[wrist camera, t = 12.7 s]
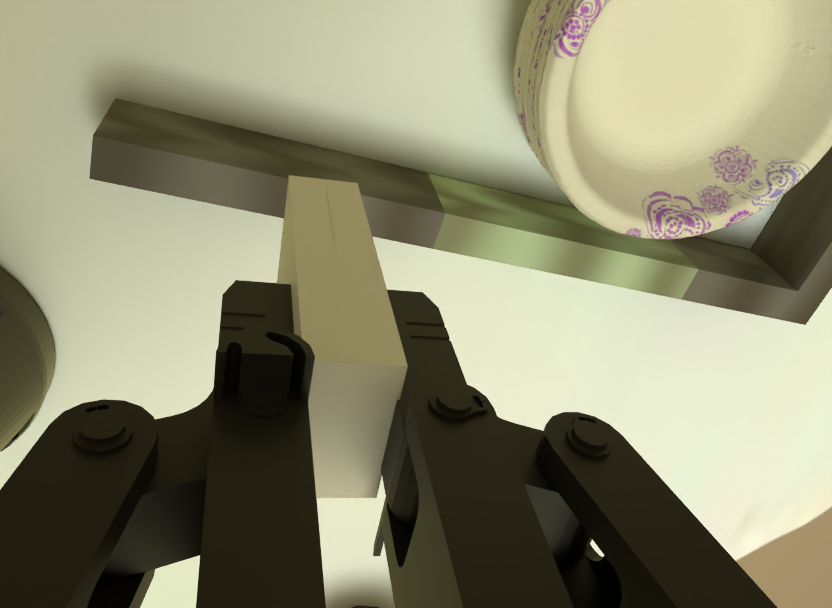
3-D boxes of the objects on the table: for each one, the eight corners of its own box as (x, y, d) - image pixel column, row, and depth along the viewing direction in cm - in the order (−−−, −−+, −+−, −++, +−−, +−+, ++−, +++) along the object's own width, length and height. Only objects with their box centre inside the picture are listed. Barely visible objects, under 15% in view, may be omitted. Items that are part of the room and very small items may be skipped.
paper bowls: (595, 229, 42) (653, 301, 36) (435, 35, 35) (471, 82, 28) (823, 50, 38) (934, 94, 32) (698, -214, 31) (811, -227, 24)
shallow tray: (111, 137, 35) (89, 178, 31) (169, -465, 24) (146, -526, 20) (759, 281, 47) (805, 324, 43) (990, -81, 36) (1083, -70, 32)
